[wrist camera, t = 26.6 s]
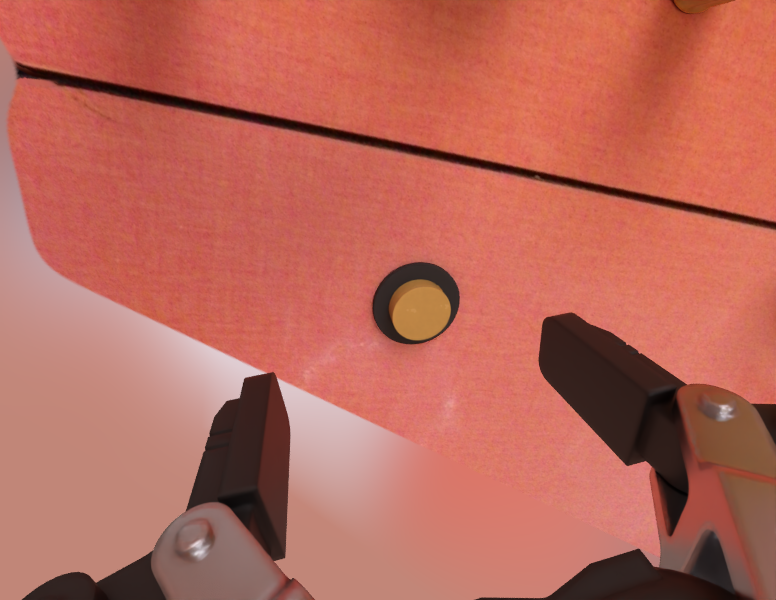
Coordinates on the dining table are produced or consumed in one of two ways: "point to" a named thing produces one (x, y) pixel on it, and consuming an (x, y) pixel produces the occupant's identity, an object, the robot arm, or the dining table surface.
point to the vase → (698, 5)
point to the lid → (419, 309)
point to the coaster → (403, 276)
